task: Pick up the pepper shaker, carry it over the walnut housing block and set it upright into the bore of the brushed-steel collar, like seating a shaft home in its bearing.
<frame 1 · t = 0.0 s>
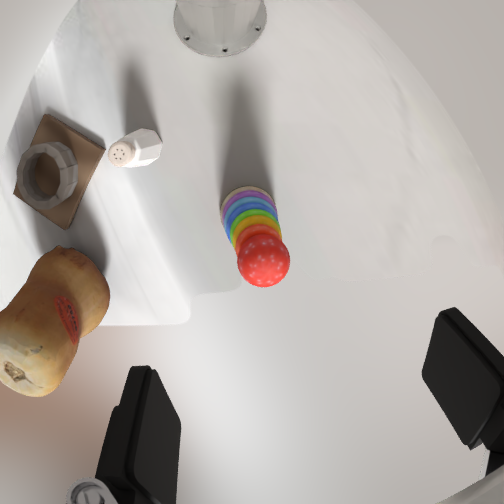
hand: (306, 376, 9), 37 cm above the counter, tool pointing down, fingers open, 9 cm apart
shaft housing: (56, 171, 40), on the counter
butternut squash: (82, 273, 47), on the counter
pepper shaker: (144, 146, 40), on the counter
stacking toy: (247, 211, 45), on the counter
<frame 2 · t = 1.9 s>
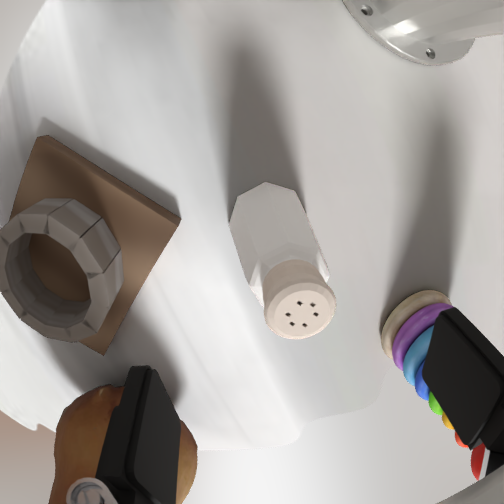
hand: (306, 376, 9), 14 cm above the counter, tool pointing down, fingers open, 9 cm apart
shaft housing: (74, 252, 21), on the counter
butternut squash: (136, 401, 29), on the counter
pepper shaker: (267, 219, 22), on the counter
stacking toy: (413, 320, 27), on the counter
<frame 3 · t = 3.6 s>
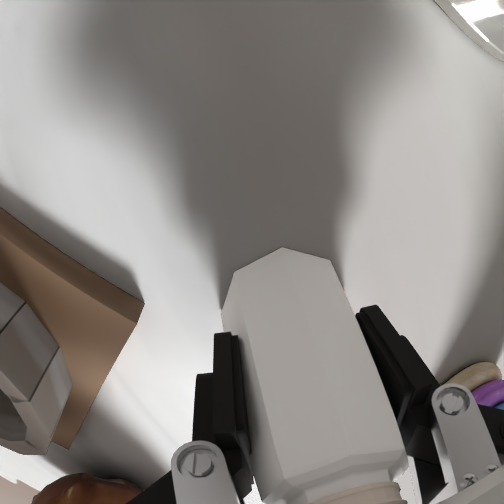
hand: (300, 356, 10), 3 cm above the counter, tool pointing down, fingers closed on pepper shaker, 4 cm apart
shaft housing: (9, 333, 13), on the counter
butternut squash: (117, 481, 20), on the counter
pepper shaker: (283, 302, 13), on the counter, touching gripper
stacking toy: (454, 394, 18), on the counter
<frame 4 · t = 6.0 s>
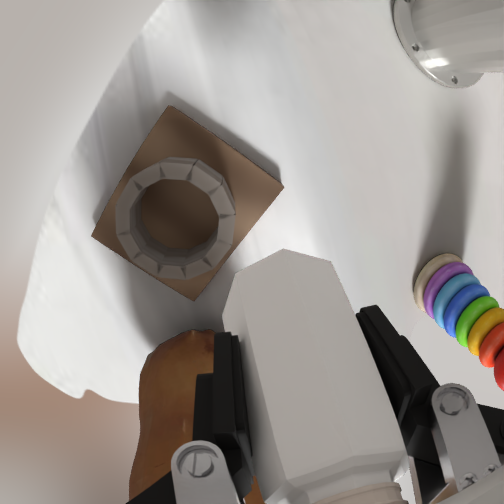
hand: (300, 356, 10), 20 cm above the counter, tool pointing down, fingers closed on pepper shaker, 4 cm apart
shaft housing: (182, 206, 28), on the counter
butternut squash: (205, 352, 35), on the counter
pepper shaker: (284, 303, 13), point 16 cm above the counter, touching gripper
stacking toy: (436, 279, 33), on the counter
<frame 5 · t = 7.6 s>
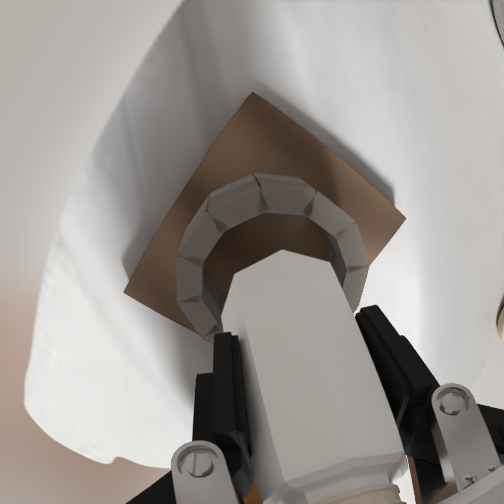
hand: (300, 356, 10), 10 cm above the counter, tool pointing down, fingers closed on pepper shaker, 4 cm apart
shaft housing: (263, 245, 20), on the counter
pepper shaker: (283, 304, 13), point 7 cm above the counter, touching gripper
when the fingers open (6 cm above the counter, at t = 8.8 s): pepper shaker drops 1 cm, resting on shaft housing.
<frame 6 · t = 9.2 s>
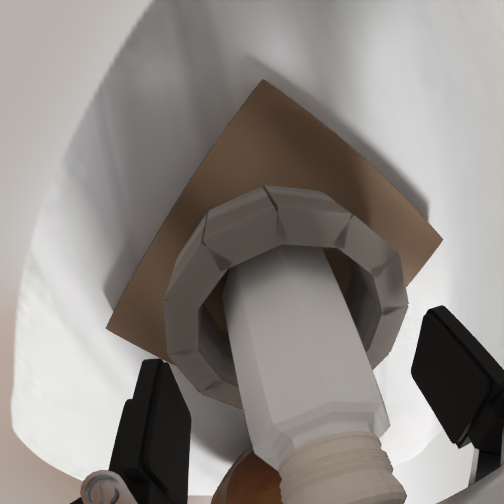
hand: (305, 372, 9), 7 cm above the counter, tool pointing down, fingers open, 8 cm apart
shaft housing: (274, 273, 16), on the counter
butternut squash: (281, 449, 23), on the counter
pepper shaker: (279, 285, 15), point 1 cm above the counter, touching shaft housing
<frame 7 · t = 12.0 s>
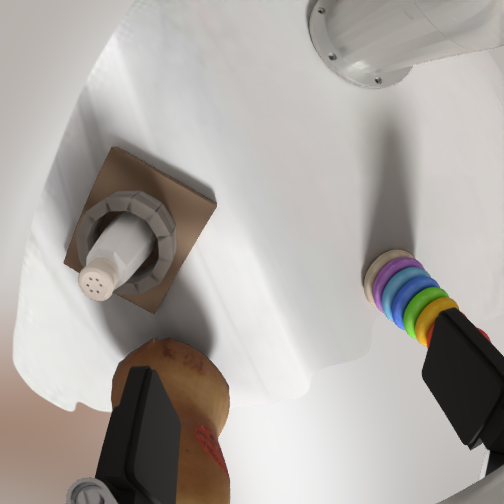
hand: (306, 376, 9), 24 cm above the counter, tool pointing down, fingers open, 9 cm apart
shaft housing: (134, 232, 31), on the counter
butternut squash: (174, 360, 38), on the counter
pepper shaker: (132, 235, 30), point 1 cm above the counter, touching shaft housing
stacking toy: (388, 276, 37), on the counter
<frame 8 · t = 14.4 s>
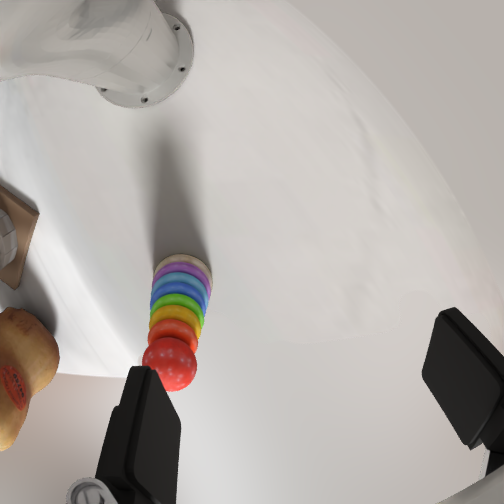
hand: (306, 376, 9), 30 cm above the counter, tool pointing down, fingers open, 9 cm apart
shaft housing: (1, 232, 36), on the counter
butternut squash: (37, 327, 43), on the counter
stacking toy: (183, 278, 41), on the counter
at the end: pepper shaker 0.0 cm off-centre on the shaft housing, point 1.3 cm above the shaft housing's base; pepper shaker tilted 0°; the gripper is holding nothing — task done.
